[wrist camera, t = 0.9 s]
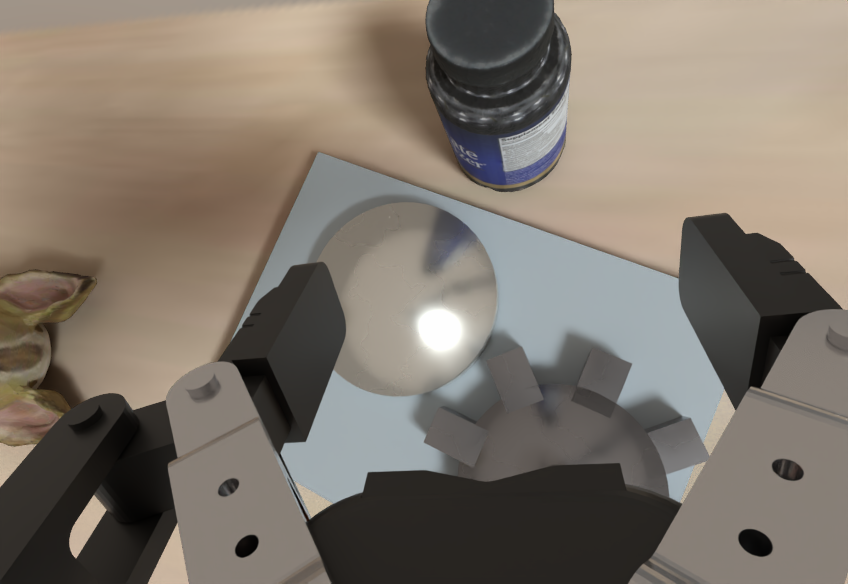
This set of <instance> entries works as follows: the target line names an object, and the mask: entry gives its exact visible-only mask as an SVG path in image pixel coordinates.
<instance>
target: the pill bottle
mask: <svg viewBox="0 0 848 584" xmlns="http://www.w3.org/2000/svg"><path fill="white" fill-rule="evenodd" d="M425 20H426V31H427V36H428V39H429V42H430V47H429V50H428V55H427V58H426V60H427V61H426V80H427V84H428V88H429V91H430V94H431V97H432V99H433V101H434V104H435V106H436V109H437V111H438V113H439V116H440V118H441V121H442V123H443V126H444V128H445V131H446V133H447V136H448V138H449V141H450V143H451V145H452V148H453V151H454V153H455V156H456V158H457V160H458V163H459V165H460V166H461V168H462V170H463V171H464V173H465V174H466V175H467V176H468V177H469V178H470V179H471V180H472V181H474V182H475V183H477V184H478V185H481V186H484V187H490V188H492V189H493V190H495V191H499V192H513V191H519V190H522V189H525V188H527V187H530V186H532V185H534V184H536V183H537V182H539V181H541V180H542V179H543V178H545V177H546V176H547V175H548V174H549V173H550V172H551V171H552V170H553V169H554V167H555V166H556V165H557V163H558V161H559V159H560V156H561V154H562V151H563V149H564V146H565V141H566V124H567V110H568V96H569V82H570V71H571V55H572V54H571V46H570V41H569V37H568V34H567V32H566V28H565V27H564V26H563V24H562V22H561V20H560V18H559V17H558V16H557V15H556V13H554V0H430V1H429V4H428V6H427V12H426V19H425Z"/></svg>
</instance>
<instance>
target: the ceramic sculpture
mask: <svg viewBox="0 0 848 584" xmlns="http://www.w3.org/2000/svg"><path fill="white" fill-rule="evenodd" d="M96 284H97V279H96V278H95V277H89V276H81V275H78V274H70V273H61V272H54V271H53V272H48V271H41V270H29V271H26V272H24V273H19V274H8V275H6V276H4V277H2V278H1V279H0V443H3V444H6V445H8V446H14V447H15V446H21V445H28V444H38V443H39V442H40V440H41V439H42V438H43V437H44V436H45V435H46V433H47V432H48V431H49V430H50V429H51V428H52V426H53V425H54V424H55V423H56V422H57V421H58V420H59V419H60V418H61V417H62V416H63V415H64V414H65V413H67V412H68V411H69V410H71V408H70V406H69V405H68V403H67V402H66V400H65V399H64V397H63V396H62V395H61V394H60V393H58V392H57V391H53V390H40V389H37V388H38V386H39V385H40V384H41V383H42V381H43V379H44V377H45V375H46V372H47V370H48V367H49V364H50V359H51V345H50V339H49V334H48V332H47V330H46V328H45V327H44V325H43V324H42V323H47V322H53V323H57V322H62V321H65V320H67V319H69V318H70V317H71V316H72V315H73V314H74V313H75V312H76V311H77V309H78V308H79V307H80V306H81V305H82V304H83V302H84V301H85V300H86V298H87V297H88V295H89V294H90V292H91V291H92V290H93V288H94V287H95V286H96Z"/></svg>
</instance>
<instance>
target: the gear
mask: <svg viewBox="0 0 848 584" xmlns="http://www.w3.org/2000/svg"><path fill="white" fill-rule="evenodd" d="M486 362H487V364H488V367H489V369H490V372H491V374H492V377H493V379H494V382H495V384H496V387H497V389H498V392H499V394H500V397H501V400H499V401H498V402H496V403H495V404H494V405H493V406H491V407H490V408H489V409H488V410H487V411H486V412H485V413H484V414H483V415H482V416H481V417H480V419H479V420H478V421H475V420H473V419H471V418H469V417H467V416H465V415H463V414H461V413H459V412H457V411H454V410H452V409H450V408H448V407H446V406H441V407H438V409H437V412H436V414H435V416H434V419H433V421H432V423H431V426H430V428H429V430H428V433H427V435H426V437H425V440H424V442H423V443H425V444H427V445H429V446H431V447H433V448H435V449H437V450H439V451H441V452H443V453H445V454H447V455H449V456H451V457H453V458H455V459H457V460H459V461H460V462H459V467H458V477H463V478H468V479H473V480H478V481H485V482H487V481H495V480H499V479H503V478H506V477H510V476H514V475H518V474H522V473H526V472H530V471H533V470H537V469H541V468H545V467H549V466H553V465H577V464H605V463H620V465H621V469H622V473H623V478H624V482H625V484H629V485H634V486H638V487H642V488H645V489H648V490H652V491H655V492H657V493H660V494H662V495H665V496H667V497H669V488H668V480H667V476H666V475H667V474H670V473H673V472H676V471H679V470H682V469H685V468H688V467H690V466H693V465H696V464H699V463H702V462H705V461H707V460H708V459H709V457H710V456H709V454H708V452H707V450H706V448H705V446H704V444H703V442H702V440H701V438H700V436H699V434H698V432H697V430H696V428H695V426H694V423H693V421H692V419H691V418H689V417H685V416H680V417H678V418H675V419H672V420H669V421H666V422H663V423H661V424H658V425H655V426H652V427H649V428H647V429H644V428H643V427H642V426H641V425H640V424H639V423H638V422H637V421H636V419H635V418H634V417H633V416H632V415H630V414H629V413H628V412H627V411H626V410H625V409H623V408H622V407H621V406H619V405H618V404H616V403H617V401H618V399H619V396H620V394H621V391H622V389H623V386H624V384H625V381H626V379H627V376H628V374H629V371H630V369H631V366H632V363H630V362H627V361H625V360H622V359H620V358H617V357H615V356H613V355H610V354H608V353H605V352H603V351H600V350H598V349H595V348H592V349H591V350H590V352H589V354H588V357H587V359H586V362H585V364H584V367H583V369H582V371H581V374H580V376H579V379H578V381H577V384H576V386H573V385H565V384H542V385H539V384H538V382H537V380H536V377H535V375H534V373H533V370H532V368H531V365H530V363H529V361H528V358H527V356H526V353H525V351H524V349H523V347H522V346H521V347H519V348H516V349H514V350H511V351H509V352H506V353H504V354H501V355H499V356H496V357H494V358H491V359H488V360H486Z"/></svg>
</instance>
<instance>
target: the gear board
mask: <svg viewBox="0 0 848 584" xmlns="http://www.w3.org/2000/svg"><path fill="white" fill-rule="evenodd" d="M399 202H415V203H422V204H427V205H431V206H434V207H437V208H440V209H442V210H444V211H447V212H449V213H450V214H452V215H454V216H455V217H457V218H458V219H460V220H461V221H462V222H463V223H465V224H466V225H467V226H468V227H469V228H470V229H471V230H472V231H473V232H474V233H475V234H476V236H477V237H478V238H479V240H480V241H481V243H482V244H483V246H484V248H485V250H486V252H487V254H488V256H489V258H490V260H491V262H492V264H493V267H494V270H495V273H496V277H497V282H498V287H499V309H498V316H497V321H496V325H495V328H494V331H493V334H492V337H491V339H490V341H489V343H488V345H487V347H486V349H485V350H484V352H483V353H482V354H481V356H480V357H479V359H478V360H477V361H476V362H475V363H474V365H473V366H472V367H471V368H470V369H469V370H468V371H467V372H465V373H464V374H463V375H462V376H461V377H460V378H458V379H456V380H455V381H453V382H452V383H450V384H449V385H447V386H444V387H442V388H440V389H438V390H435V391H432V392H429V393H426V394H420V395H414V396H397V397H393V396H384V395H379V394H375V393H371V392H368V391H365V390H363V389H360V388H358V387H356V386H354V385H353V384H351V383H349V382H348V381H346V380H345V379H344V378H342V377H341V376H340V375H339V374H337V373H336V372H335V371H334V370H333V372H332V374H331V377H330V380H329V382H328V385H327V388H326V390H325V393H324V395H323V398H322V401H321V403H320V406H319V409H318V411H317V414H316V417H315V419H314V422H313V425H312V427H311V430H310V432H309V435H308V438H307V440H306V442H298V443H285V444H284V446H283V448H282V451H281V455H282V457H283V459H284V461H285V463H286V465H287V467H288V469H289V471H290V473H291V476H292V478H293V480H294V481H295V482H297V483H299V484H300V485H302V486H304V487H306V488H307V489H309V490H311V491H312V492H314V493H316V494H318V495H319V496H321V497H323V498H325V499H326V500H328V501H330V502H332V503H333V504H334V503H336V502H338V501H340V500H342V499H345V498H347V497H350V496H352V495H355V494H358V493H361V492H363V490H364V485H365V481H366V477H367V473H368V472H384V471H411V470H428V471H433V472H438V473H443V474H448V475H453V476H458V467H459V462H460V461H459V460H457V459H455V458H453V457H451V456H449V455H447V454H445V453H443V452H441V451H439V450H437V449H435V448H433V447H431V446H429V445H427V444H425V443H423V442H424V440H425V437H426V435H427V433H428V430H429V428H430V426H431V423H432V421H433V419H434V416H435V414H436V412H437V409H438V407H441V406H446V407H448V408H450V409H452V410H454V411H457V412H459V413H461V414H463V415H465V416H467V417H469V418H471V419H473V420H475V421H478V420H479V419H480V417H481V416H482V415H483V414H484V413H485V412H486V411H487V410H488V409H489V408H490V407H491V406H493V405H494V404H495V403H496V402H498V401H499V400H501V397H500V394H499V392H498V389H497V387H496V384H495V382H494V379H493V377H492V374H491V372H490V369H489V367H488V364H487V362H486V360H488V359H491V358H494V357H496V356H499V355H501V354H504V353H506V352H509V351H511V350H514V349H516V348H519V347H521V346H522V347H523V349H524V351H525V353H526V356H527V358H528V361H529V363H530V365H531V368H532V370H533V373H534V375H535V377H536V380H537V382H538V384H539V385H542V384H565V385H573V386H576V384H577V381H578V379H579V376H580V374H581V371H582V369H583V367H584V364H585V362H586V359H587V357H588V354H589V352H590V350H591V349H592V348H595V349H598V350H600V351H603V352H605V353H608V354H610V355H613V356H615V357H617V358H620V359H622V360H625V361H627V362H630V363H632V366H631V369H630V371H629V374H628V376H627V379H626V381H625V384H624V386H623V389H622V391H621V394H620V396H619V399H618V401H617V403H616V404H618V405H619V406H621V407H622V408H623V409H625V410H626V411H627V412H628V413H629V414H630V415H632V416H633V417H634V418H635V419H636V421H637V422H638V423H639V424H640V425H641V426H642V427H643V428H644V429H647V428H649V427H652V426H655V425H658V424H661V423H663V422H666V421H669V420H672V419H675V418H678V417H680V416H685V417H689V418H691V419H692V421H693V423H694V426H695V428H696V430H697V432H698V434H699V436H700V438H701V440H702V442H704V440H705V437H706V434H707V432H708V429H709V427H710V424H711V422H712V419H713V417H714V414H715V411H716V409H717V406H718V404H719V401H720V399H721V396H722V394H723V391H724V387H723V385H722V383H721V381H720V379H719V377H718V376H717V374H716V372H715V370H714V368H713V366H712V364H711V362H710V360H709V358H708V356H707V354H706V352H705V350H704V349H703V347H702V345H701V343H700V341H699V339H698V337H697V335H696V333H695V331H694V329H693V327H692V325H691V324H690V322H689V320H688V318H687V316H686V314H685V312H684V310H683V308H682V305H681V301H680V296H679V279H678V278H676V277H673V276H670V275H667V274H664V273H661V272H658V271H656V270H653V269H650V268H647V267H644V266H641V265H639V264H636V263H633V262H630V261H627V260H624V259H622V258H619V257H616V256H613V255H610V254H607V253H604V252H602V251H599V250H596V249H593V248H590V247H587V246H585V245H582V244H579V243H576V242H573V241H570V240H568V239H565V238H562V237H559V236H556V235H553V234H551V233H548V232H545V231H542V230H539V229H536V228H533V227H531V226H528V225H525V224H522V223H519V222H516V221H514V220H511V219H508V218H505V217H502V216H499V215H497V214H494V213H491V212H488V211H485V210H482V209H479V208H477V207H474V206H471V205H468V204H465V203H462V202H460V201H457V200H454V199H451V198H448V197H445V196H443V195H440V194H437V193H434V192H431V191H428V190H426V189H423V188H420V187H417V186H414V185H411V184H408V183H406V182H403V181H400V180H397V179H394V178H391V177H389V176H386V175H383V174H380V173H377V172H374V171H372V170H369V169H366V168H363V167H360V166H357V165H354V164H352V163H349V162H346V161H343V160H340V159H337V158H335V157H332V156H329V155H326V154H323V153H320V152H318V154H317V156H316V158H315V160H314V162H313V164H312V167H311V169H310V171H309V173H308V175H307V177H306V180H305V182H304V184H303V186H302V188H301V190H300V193H299V195H298V197H297V199H296V201H295V203H294V206H293V208H292V210H291V212H290V214H289V216H288V219H287V221H286V223H285V225H284V227H283V229H282V232H281V234H280V236H279V238H278V240H277V242H276V245H275V247H274V249H273V251H272V253H271V255H270V258H269V260H268V262H267V264H266V266H265V268H264V271H263V273H262V275H261V277H260V279H259V281H258V284H257V286H256V288H255V290H254V292H253V294H252V297H251V299H250V301H249V303H248V305H247V307H246V310H245V312H244V314H243V316H242V318H241V320H240V323H239V325H238V327H237V329H236V331H235V333H234V336H235V335H236V333H237V332H238V330H239V329H240V328H242V324H243V323H244V321H245V320H246V318H247V317H250V315H249V314H250V312H251V311H252V309H253V308H254V306H255V305H256V303H257V302H258V300H259V299H261V298H262V297H263V296H264V295H266V294H267V293H268V292H269V291H270V290H272V289H273V288H274V287H278V286H279V284H280V283H281V281H282V280H283V278H284V276H285V275H286V273H287V272H288V270H289V269H290V267H291V266H293V265H299V264H307V263H315V262H317V260H318V258H319V256H320V254H321V252H322V250H323V249H324V248H325V246H326V245H327V243H328V242H329V240H330V239H331V238H332V237H333V236H334V235H335V234H336V232H337V231H339V230H340V229H341V228H342V227H343V226H344V225H345V224H346V223H348V222H349V221H351V220H352V219H353V218H355V217H356V216H358V215H360V214H362V213H364V212H366V211H368V210H370V209H373V208H376V207H378V206H382V205H386V204H391V203H399ZM234 336H233V338H234ZM233 338H232V339H233ZM231 341H232V340H231ZM693 468H694V465H693V466H690V467H688V468H685V469H682V470H679V471H676V472H673V473H670V474H667V475H666V476H667V480H668V488H669V497H670V498H672V499H674V500H676V501H678V502H680V501H681V498H682V496H683V493H684V491H685V488H686V486H687V483H688V480H689V478H690V475H691V473H692V470H693Z"/></svg>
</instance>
